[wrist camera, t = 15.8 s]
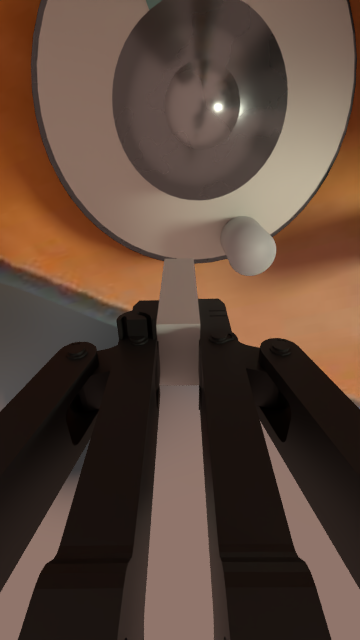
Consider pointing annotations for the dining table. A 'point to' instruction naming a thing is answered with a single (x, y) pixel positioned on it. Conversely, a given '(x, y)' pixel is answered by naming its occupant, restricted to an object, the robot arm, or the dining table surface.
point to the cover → (199, 96)
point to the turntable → (146, 200)
